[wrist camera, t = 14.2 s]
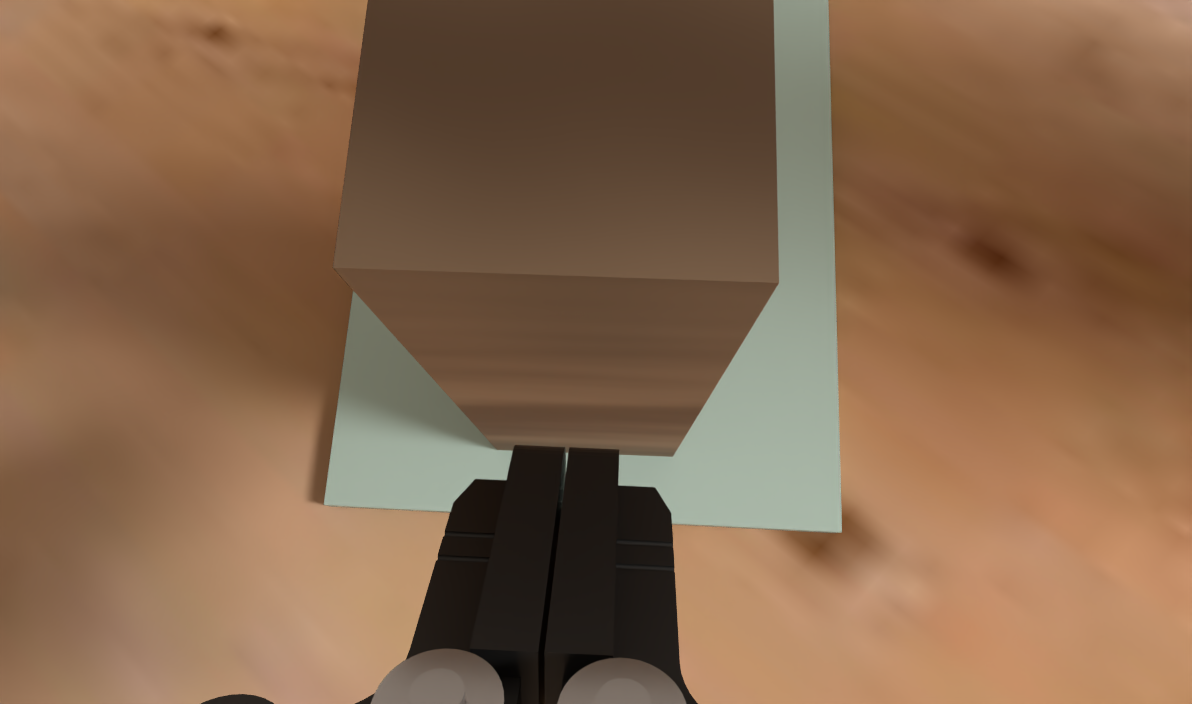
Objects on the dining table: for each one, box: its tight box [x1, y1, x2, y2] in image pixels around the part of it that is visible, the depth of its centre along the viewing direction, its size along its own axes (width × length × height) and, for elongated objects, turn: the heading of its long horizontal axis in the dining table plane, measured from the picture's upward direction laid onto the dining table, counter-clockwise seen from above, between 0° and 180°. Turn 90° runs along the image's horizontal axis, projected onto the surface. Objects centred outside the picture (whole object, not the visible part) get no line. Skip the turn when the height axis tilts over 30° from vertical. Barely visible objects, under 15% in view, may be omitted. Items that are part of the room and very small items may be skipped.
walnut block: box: [333, 0, 779, 457], centre depth 15 cm, size 4×4×13 cm
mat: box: [324, 0, 842, 533], centre depth 23 cm, size 20×13×1 cm, turn 177°
